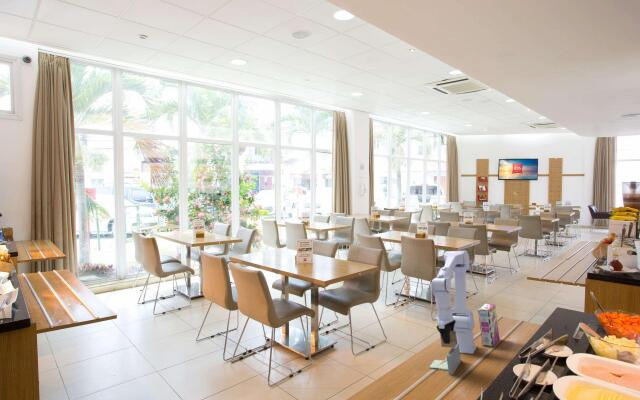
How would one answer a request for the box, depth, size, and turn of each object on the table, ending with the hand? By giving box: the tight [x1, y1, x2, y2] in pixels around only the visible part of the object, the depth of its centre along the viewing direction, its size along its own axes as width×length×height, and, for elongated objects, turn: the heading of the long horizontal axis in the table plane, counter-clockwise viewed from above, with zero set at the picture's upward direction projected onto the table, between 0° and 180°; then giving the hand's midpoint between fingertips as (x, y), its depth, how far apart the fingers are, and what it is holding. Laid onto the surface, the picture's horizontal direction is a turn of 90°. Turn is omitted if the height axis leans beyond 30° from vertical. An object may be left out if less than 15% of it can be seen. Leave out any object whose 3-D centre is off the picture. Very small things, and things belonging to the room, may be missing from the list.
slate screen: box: [446, 344, 462, 376], centre depth 151 cm, size 14×2×7 cm, turn 147°
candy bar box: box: [477, 303, 500, 348], centre depth 172 cm, size 11×5×16 cm, turn 141°
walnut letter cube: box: [439, 331, 457, 349], centre depth 152 cm, size 5×5×5 cm
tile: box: [429, 359, 448, 371], centre depth 154 cm, size 8×8×1 cm
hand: (448, 340), depth 152 cm, fingers closed on walnut letter cube, 5 cm apart
